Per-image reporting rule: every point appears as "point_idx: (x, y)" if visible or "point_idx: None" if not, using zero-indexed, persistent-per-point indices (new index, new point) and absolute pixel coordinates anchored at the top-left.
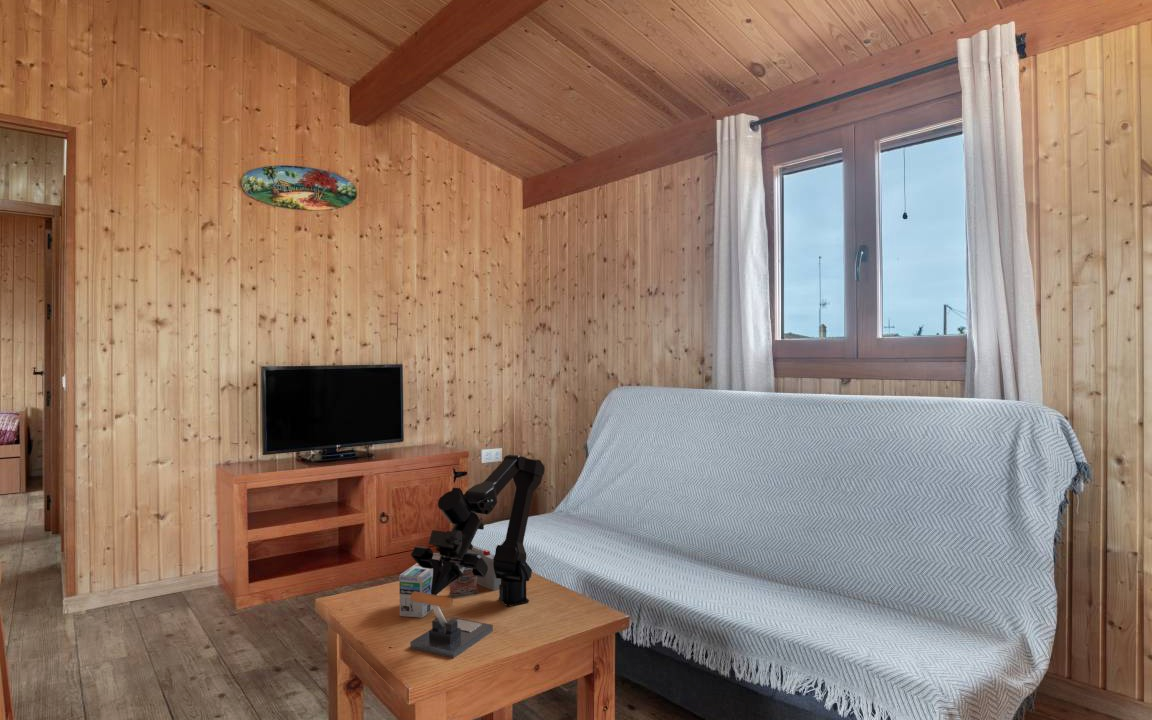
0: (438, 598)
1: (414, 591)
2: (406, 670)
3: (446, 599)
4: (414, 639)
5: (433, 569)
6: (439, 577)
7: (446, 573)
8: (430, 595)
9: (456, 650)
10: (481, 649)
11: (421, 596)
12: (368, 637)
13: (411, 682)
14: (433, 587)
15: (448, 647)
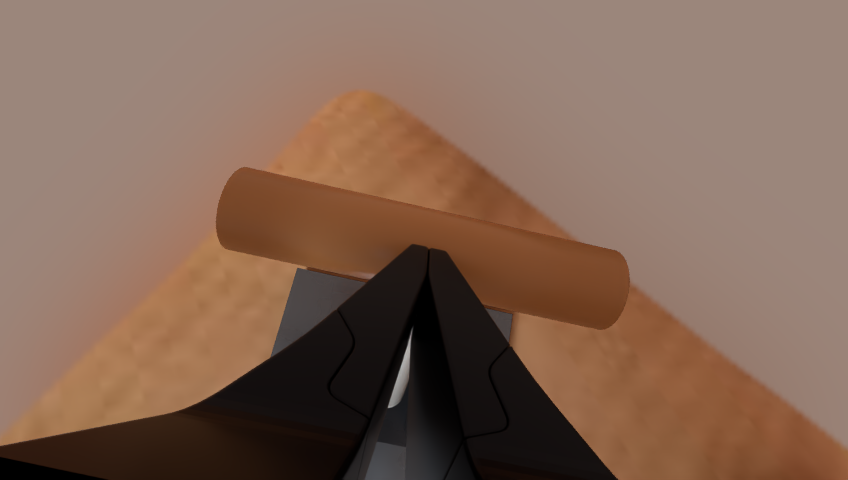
0: (336, 192)
1: (622, 285)
2: (430, 160)
3: (249, 176)
4: (508, 339)
5: (601, 473)
6: (391, 337)
7: (245, 375)
8: (431, 225)
9: (292, 288)
10: (210, 376)
11: (514, 230)
12: (713, 372)
13: (376, 96)
14: (436, 271)
15: (331, 298)
